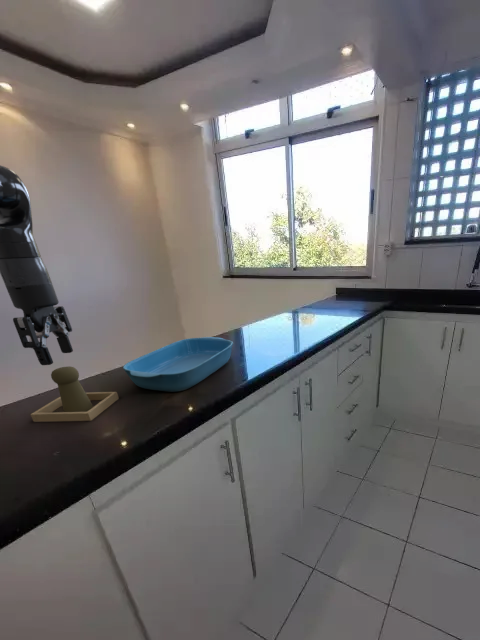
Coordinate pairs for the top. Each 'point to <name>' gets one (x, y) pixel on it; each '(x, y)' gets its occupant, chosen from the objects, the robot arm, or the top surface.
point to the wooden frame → (48, 415)
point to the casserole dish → (179, 364)
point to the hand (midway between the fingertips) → (58, 358)
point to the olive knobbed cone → (71, 390)
